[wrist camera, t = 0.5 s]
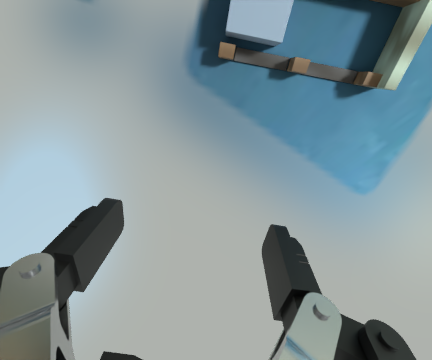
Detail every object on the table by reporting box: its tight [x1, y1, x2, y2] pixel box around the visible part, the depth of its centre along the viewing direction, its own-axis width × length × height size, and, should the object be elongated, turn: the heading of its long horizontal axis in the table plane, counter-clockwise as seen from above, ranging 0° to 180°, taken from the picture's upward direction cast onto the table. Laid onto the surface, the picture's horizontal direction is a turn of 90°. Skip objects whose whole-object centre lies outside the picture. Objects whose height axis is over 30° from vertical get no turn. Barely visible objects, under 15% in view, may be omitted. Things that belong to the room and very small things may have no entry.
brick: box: [226, 0, 294, 46], centre depth 25 cm, size 6×7×4 cm
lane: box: [218, 0, 432, 90], centre depth 25 cm, size 11×24×4 cm, turn 80°
